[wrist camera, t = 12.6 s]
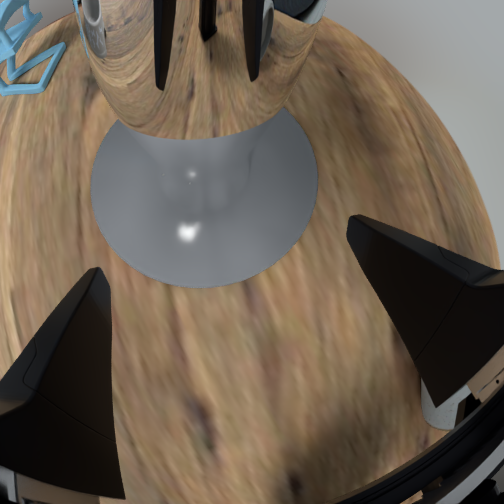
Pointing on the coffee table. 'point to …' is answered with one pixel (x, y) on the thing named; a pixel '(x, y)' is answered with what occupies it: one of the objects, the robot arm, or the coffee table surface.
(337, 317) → the coffee table surface
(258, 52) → the chrome tumbler cup
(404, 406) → the coffee table surface
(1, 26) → the chair
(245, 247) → the coaster board
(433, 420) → the ceramic mug
